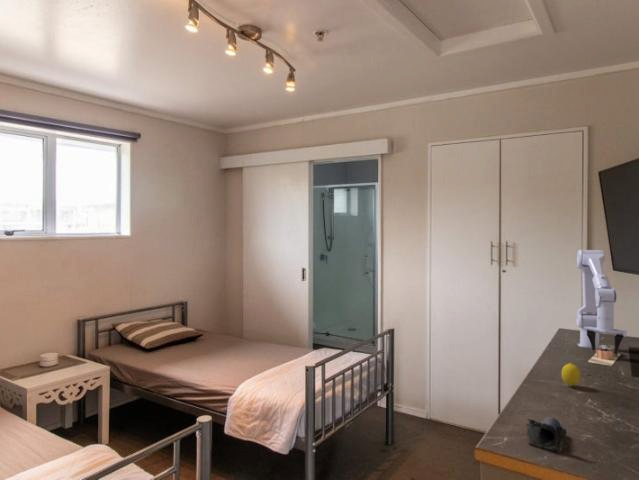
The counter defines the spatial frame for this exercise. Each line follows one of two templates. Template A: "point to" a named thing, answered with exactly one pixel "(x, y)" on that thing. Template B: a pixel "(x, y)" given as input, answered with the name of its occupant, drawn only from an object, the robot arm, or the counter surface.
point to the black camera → (540, 436)
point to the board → (603, 361)
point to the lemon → (570, 374)
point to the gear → (604, 354)
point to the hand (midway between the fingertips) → (604, 351)
